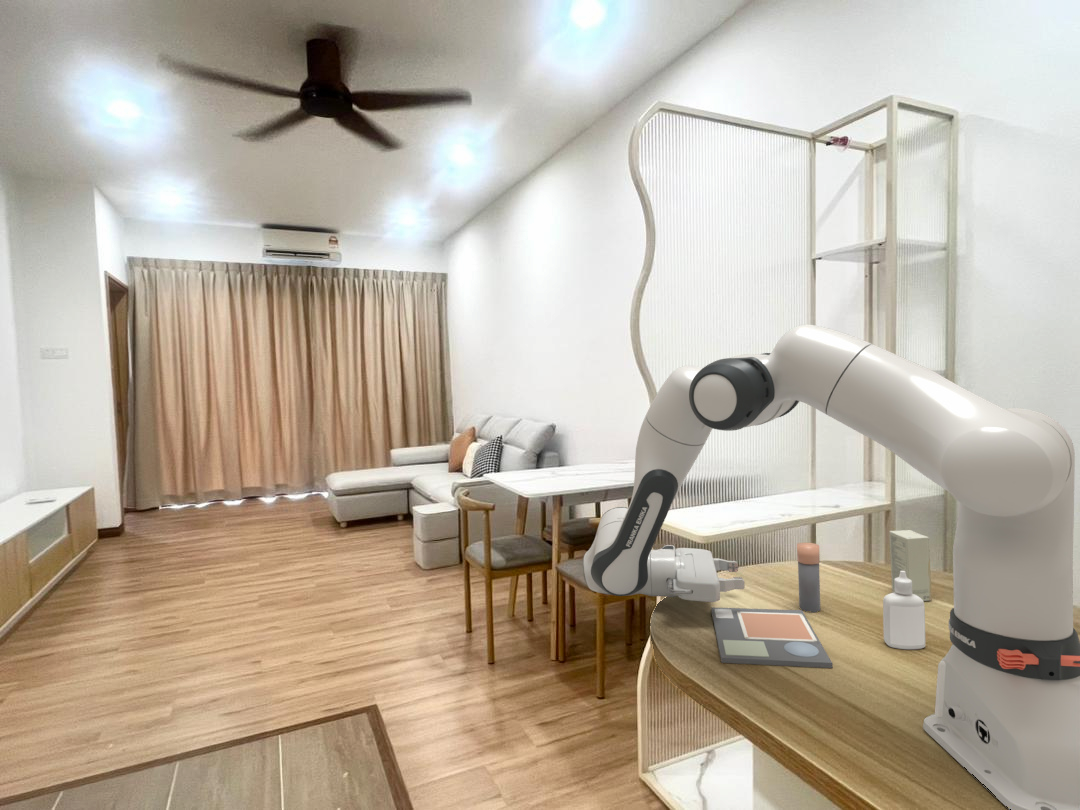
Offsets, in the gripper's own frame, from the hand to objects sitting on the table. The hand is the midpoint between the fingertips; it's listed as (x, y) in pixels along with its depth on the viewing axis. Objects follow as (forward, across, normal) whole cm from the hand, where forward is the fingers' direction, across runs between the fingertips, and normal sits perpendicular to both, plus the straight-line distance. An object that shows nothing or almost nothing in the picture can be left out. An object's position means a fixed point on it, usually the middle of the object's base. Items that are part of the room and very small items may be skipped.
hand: (740, 574), depth 113 cm
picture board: (+2, -13, +6) cm, 15 cm away
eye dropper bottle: (+23, -14, +6) cm, 28 cm away
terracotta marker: (+12, 0, +6) cm, 14 cm away
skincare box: (+32, +8, +6) cm, 34 cm away
